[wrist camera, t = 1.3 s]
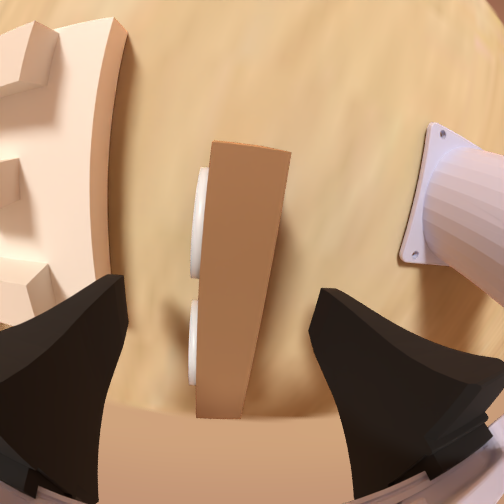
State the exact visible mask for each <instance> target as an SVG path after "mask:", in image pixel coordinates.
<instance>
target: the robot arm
mask: <svg viewBox="0 0 504 504" xmlns="http://www.w3.org/2000/svg"><path fill="white" fill-rule="evenodd" d="M440 132H441V135H442V136H440ZM414 252H415V253H414ZM413 253H414V255H413V256H412V254H413ZM399 256H400V259H401V260H403V261H404V262H406V263H418V264H431V265H443V266H451V267H452V268H454V269H455V270H456V271H458V272H459V273H460V274H462V275H463V276H464V277H466V278H467V279H468V280H470V281H471V282H472V283H474V284H475V285H476V286H478V287H479V288H480V289H481V290H483V291H484V292H485V293H486V294H488V295H489V296H490V297H491V298H493V299H494V300H495V301H496V302H498V303H499V304H500V305H501V306H502V307H504V155H500V154H496V153H492V152H488V151H484V150H483V149H481V148H480V147H478V146H476V145H475V144H473V143H472V142H470V141H468V140H467V139H465V138H463V137H462V136H460V135H458V134H457V133H455V132H453V131H451V130H450V129H448V128H446V127H444V126H442V125H440V124H439V123H434V122H432V123H430V124H429V125H428V127H427V133H426V140H425V147H424V153H423V159H422V164H421V170H420V175H419V180H418V184H417V189H416V193H415V198H414V202H413V206H412V210H411V214H410V218H409V221H408V225H407V229H406V232H405V236H404V239H403V242H402V246H401V249H400V253H399ZM127 327H128V314H127V306H126V297H125V286H124V275H114V274H107V275H105V276H103V277H101V278H99V279H98V280H96V281H94V282H93V283H91V284H90V285H88V286H87V287H85V288H83V289H82V290H80V291H79V292H77V293H76V294H74V295H73V296H71V297H69V298H68V299H66V300H64V301H63V302H61V303H59V304H58V305H56V306H54V307H53V308H51V309H49V310H47V311H46V312H44V313H42V314H40V315H38V316H36V317H34V318H32V319H30V320H27V321H25V322H23V323H21V324H18V325H16V326H13V327H10V328H8V329H5V330H3V331H0V504H96V503H97V502H98V501H99V499H98V475H97V473H98V471H97V470H98V448H99V437H100V428H101V421H102V415H103V408H104V403H105V399H106V395H107V392H108V388H109V385H110V382H111V379H112V376H113V373H114V371H115V368H116V365H117V362H118V359H119V356H120V353H121V351H122V348H123V345H124V340H125V336H126V332H127ZM308 331H309V335H310V339H311V343H312V347H313V350H314V353H315V356H316V358H317V361H318V363H319V365H320V367H321V370H322V372H323V374H324V377H325V379H326V381H327V383H328V386H329V388H330V390H331V392H332V395H333V397H334V400H335V402H336V405H337V408H338V412H339V415H340V419H341V422H342V426H343V429H344V434H345V438H346V443H347V447H348V452H349V458H350V464H351V471H352V480H353V491H354V500H353V501H350V502H347V503H343V504H496V503H497V502H498V501H499V499H500V498H501V496H502V495H503V493H504V414H503V415H502V416H500V417H499V418H498V419H497V420H495V421H494V422H493V423H492V424H491V425H490V426H489V427H487V426H486V425H485V423H484V422H486V421H487V420H488V416H487V414H486V413H485V411H486V410H487V409H488V407H489V406H490V405H491V404H492V402H493V401H494V400H495V399H496V397H497V396H498V395H499V394H500V393H501V391H502V390H503V388H504V362H503V361H502V360H500V359H498V358H491V357H485V356H479V355H473V354H469V353H465V352H461V351H458V350H454V349H451V348H448V347H445V346H442V345H439V344H437V343H434V342H431V341H429V340H427V339H424V338H422V337H420V336H418V335H416V334H414V333H411V332H409V331H407V330H405V329H403V328H402V327H400V326H398V325H396V324H394V323H393V322H391V321H389V320H387V319H386V318H384V317H382V316H381V315H379V314H378V313H376V312H374V311H373V310H371V309H370V308H368V307H366V306H365V305H363V304H362V303H360V302H359V301H357V300H355V299H354V298H352V297H351V296H349V295H347V294H345V293H344V292H342V291H340V290H338V289H335V288H321V290H320V294H319V297H318V301H317V304H316V308H315V311H314V314H313V317H312V321H311V324H310V327H309V330H308Z"/></svg>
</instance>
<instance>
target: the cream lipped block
mask: <svg viewBox="0 0 504 504" xmlns="http://www.w3.org/2000/svg"><path fill="white" fill-rule="evenodd" d="M127 34H128V32H127V31H126V30H125V29H124V27H123V26H122V25H121V24H120V23H119V22H118V21H117V20H116V19H115V17H109V18H103V19H97V20H92V21H86V22H82V23H77V24H73V25H69V26H65V27H61V28H57V29H54V30H52V29H50V28H48V27H46V26H44V25H43V24H41V23H39V22H37V21H32V22H30V23H27V24H25V25H22V26H20V27H17V28H15V29H13V30H10V31H8V32H6V33H4V34H2V35H0V322H1V323H4V324H8V325H11V326H16V325H18V324H21V323H23V322H25V321H27V320H30V319H32V318H34V317H36V316H38V315H40V314H42V313H44V312H46V311H47V310H49V309H51V308H53V307H54V306H56V305H58V304H59V303H61V302H63V301H64V300H66V299H68V298H69V297H71V296H73V295H74V294H76V293H77V292H79V291H80V290H82V289H83V288H85V287H87V286H88V285H90V284H91V283H93V282H94V281H96V280H98V279H99V278H101V277H103V276H105V275H107V274H111V267H110V254H109V238H108V162H109V146H110V134H111V124H112V115H113V107H114V100H115V93H116V87H117V81H118V75H119V70H120V65H121V60H122V55H123V51H124V46H125V42H126V38H127Z"/></svg>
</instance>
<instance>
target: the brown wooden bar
mask: <svg viewBox="0 0 504 504" xmlns="http://www.w3.org/2000/svg"><path fill="white" fill-rule="evenodd" d="M290 158H291V152H287V151H283V150H278V149H274V148H269V147H264V146H258V145H250V144H242V143H234V142H225V141H215V140H214V141H213V142H212V147H211V155H210V163H209V168H208V167H201V168H200V172H199V177H198V183H197V190H196V197H195V206H194V215H193V226H192V239H191V260H190V275H191V278H196V279H199V295H198V300H192V305H191V315H190V330H189V355H188V377H189V385H196V418H209V419H241V414H242V410H243V405H244V401H245V396H246V392H247V387H248V382H249V378H250V373H251V368H252V363H253V359H254V354H255V349H256V344H257V339H258V334H259V329H260V324H261V319H262V314H263V309H264V304H265V299H266V293H267V288H268V283H269V278H270V272H271V267H272V262H273V256H274V251H275V245H276V240H277V234H278V228H279V223H280V217H281V211H282V206H283V200H284V194H285V188H286V182H287V176H288V170H289V164H290Z"/></svg>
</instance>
